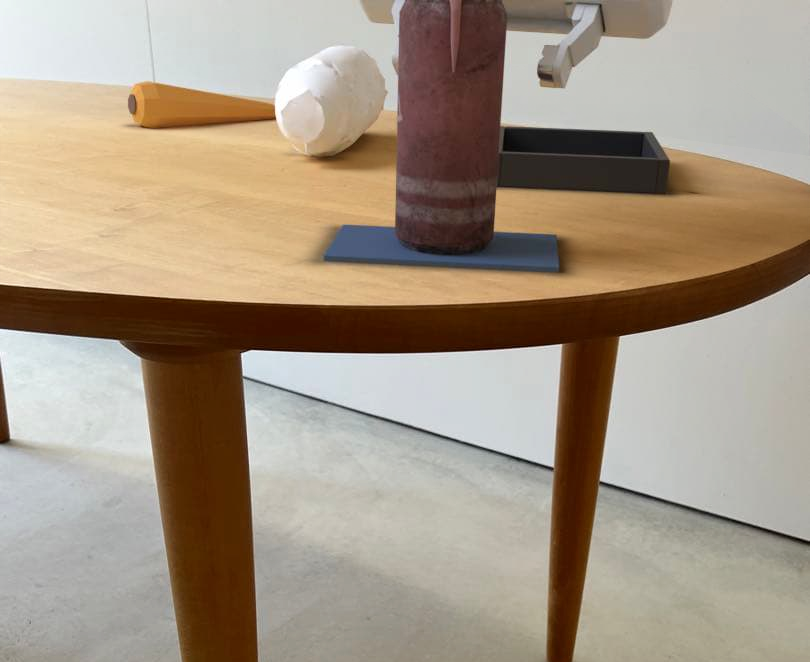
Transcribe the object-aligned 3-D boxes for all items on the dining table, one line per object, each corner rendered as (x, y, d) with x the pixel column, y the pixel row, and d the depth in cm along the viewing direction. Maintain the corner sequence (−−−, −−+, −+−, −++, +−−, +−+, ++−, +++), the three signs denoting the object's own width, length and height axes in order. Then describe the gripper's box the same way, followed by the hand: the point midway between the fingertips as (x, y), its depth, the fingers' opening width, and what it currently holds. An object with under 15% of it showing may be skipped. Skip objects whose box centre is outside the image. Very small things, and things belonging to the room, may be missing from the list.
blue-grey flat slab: (555, 242, 72) (556, 234, 72) (558, 275, 65) (559, 266, 65) (342, 231, 73) (342, 224, 73) (323, 263, 66) (323, 255, 66)
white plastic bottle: (255, 169, 91) (251, 65, 88) (304, 132, 108) (302, 43, 104) (351, 174, 91) (350, 69, 87) (385, 136, 107) (386, 46, 103)
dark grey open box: (648, 164, 98) (652, 132, 96) (665, 196, 86) (670, 160, 84) (493, 157, 99) (495, 125, 97) (489, 188, 87) (491, 152, 85)
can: (404, 258, 66) (411, -5, 59) (388, 232, 71) (392, -11, 64) (504, 256, 67) (521, -3, 60) (480, 231, 72) (494, -9, 65)
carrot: (136, 138, 107) (143, 94, 104) (120, 113, 109) (126, 69, 106) (316, 145, 118) (327, 105, 114) (298, 122, 120) (309, 82, 117)
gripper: (377, -149, 71) (306, 27, 68) (697, -150, 64) (634, 48, 61) (404, -69, 77) (340, 97, 74) (701, -62, 70) (643, 123, 66)
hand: (475, 75), depth 67 cm, fingers open, 8 cm apart
